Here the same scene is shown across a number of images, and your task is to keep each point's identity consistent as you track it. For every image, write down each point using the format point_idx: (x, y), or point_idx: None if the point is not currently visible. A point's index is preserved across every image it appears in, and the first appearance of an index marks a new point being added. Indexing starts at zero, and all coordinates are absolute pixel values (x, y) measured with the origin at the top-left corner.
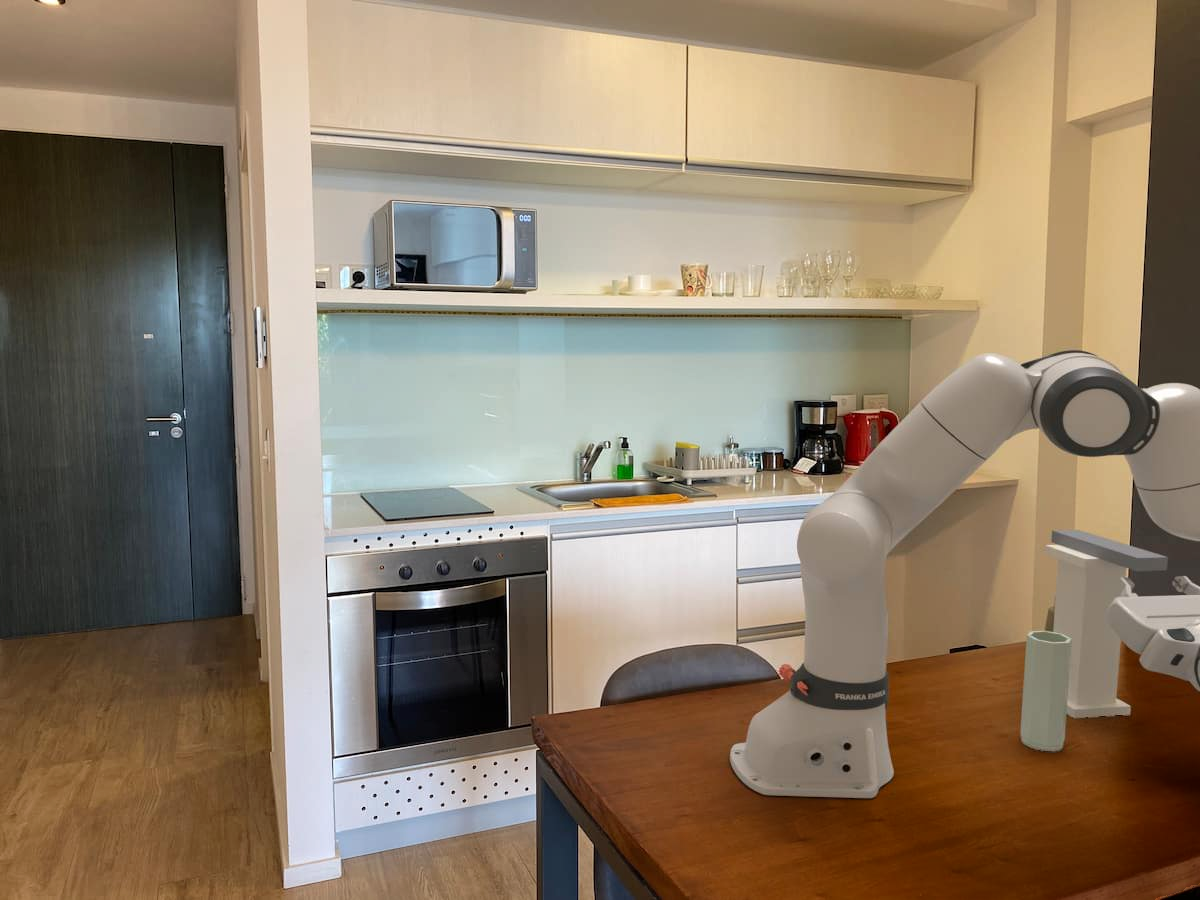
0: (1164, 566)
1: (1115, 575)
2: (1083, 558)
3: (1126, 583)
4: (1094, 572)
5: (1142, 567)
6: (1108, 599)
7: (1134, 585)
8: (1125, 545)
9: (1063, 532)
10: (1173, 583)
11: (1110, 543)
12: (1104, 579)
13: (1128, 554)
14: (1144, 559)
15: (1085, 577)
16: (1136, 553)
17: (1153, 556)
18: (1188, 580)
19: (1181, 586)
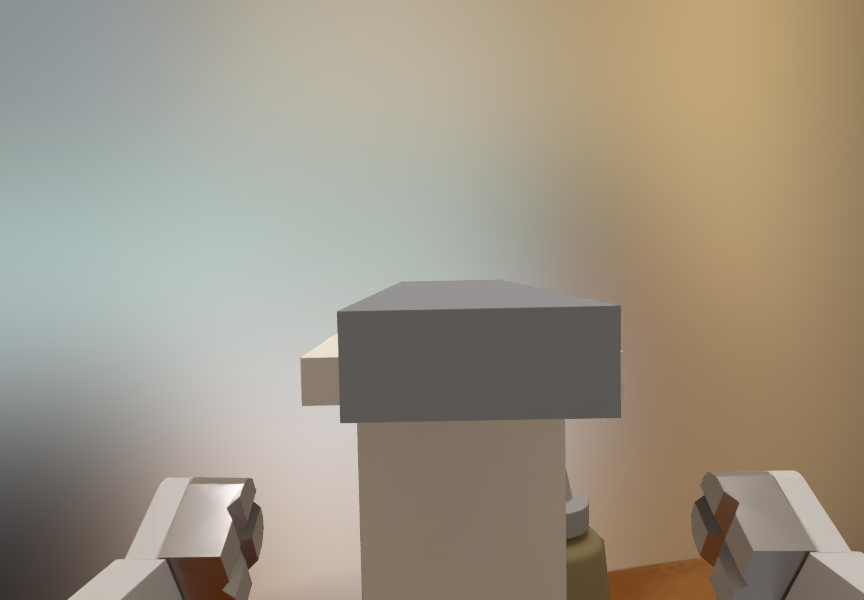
0: (594, 384)
1: (510, 441)
2: (303, 356)
3: (144, 539)
4: (399, 426)
5: (390, 391)
6: (486, 555)
7: (221, 560)
8: (519, 289)
9: (418, 282)
10: (697, 527)
11: (472, 288)
12: (454, 460)
13: (369, 303)
14: (402, 323)
15: (358, 449)
16: (448, 300)
17: (510, 305)
18: (810, 516)
19: (740, 572)
